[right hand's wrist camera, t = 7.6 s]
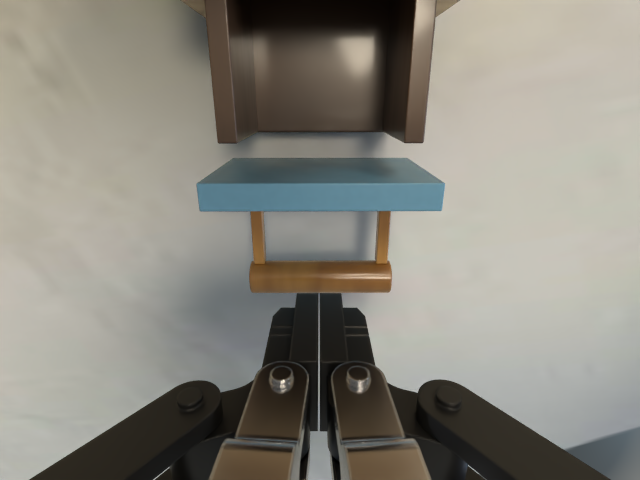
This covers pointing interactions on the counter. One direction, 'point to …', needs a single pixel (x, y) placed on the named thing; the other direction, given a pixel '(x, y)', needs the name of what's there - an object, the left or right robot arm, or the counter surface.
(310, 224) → the counter surface
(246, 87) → the drawer
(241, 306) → the counter surface
